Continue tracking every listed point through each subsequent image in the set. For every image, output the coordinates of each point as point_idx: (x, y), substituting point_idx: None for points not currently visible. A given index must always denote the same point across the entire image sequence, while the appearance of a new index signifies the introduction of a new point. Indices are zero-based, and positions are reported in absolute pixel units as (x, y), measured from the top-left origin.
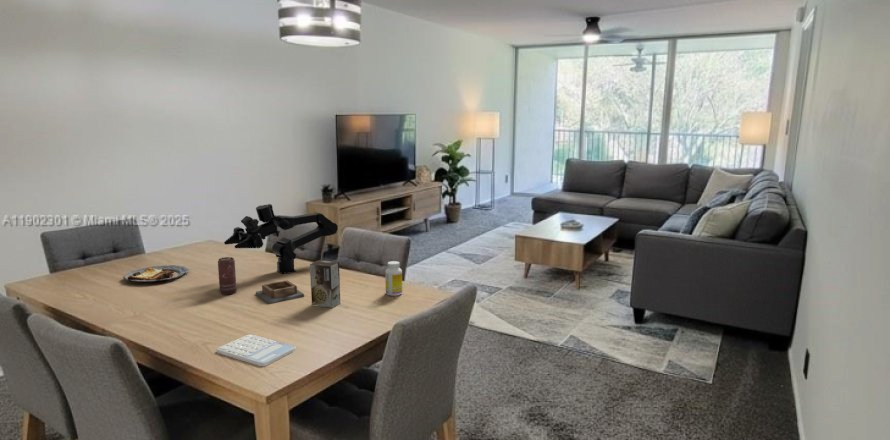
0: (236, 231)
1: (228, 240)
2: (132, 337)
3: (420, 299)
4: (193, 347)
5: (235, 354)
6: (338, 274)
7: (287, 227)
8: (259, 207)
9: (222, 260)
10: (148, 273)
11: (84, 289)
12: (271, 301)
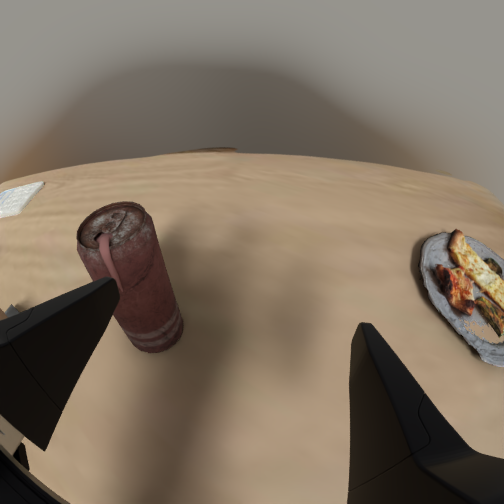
0: (463, 501)
1: (366, 363)
2: (158, 156)
3: None
4: (70, 177)
5: (24, 185)
6: None
7: None
8: None
9: (122, 214)
10: (501, 289)
11: (441, 201)
12: (8, 310)
